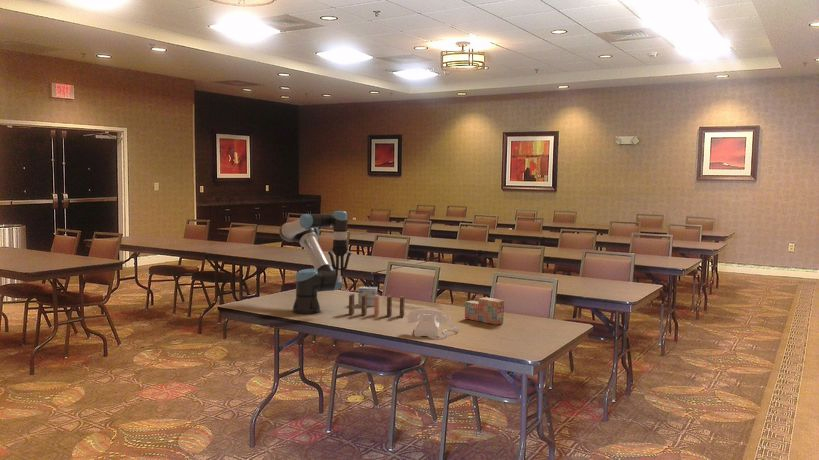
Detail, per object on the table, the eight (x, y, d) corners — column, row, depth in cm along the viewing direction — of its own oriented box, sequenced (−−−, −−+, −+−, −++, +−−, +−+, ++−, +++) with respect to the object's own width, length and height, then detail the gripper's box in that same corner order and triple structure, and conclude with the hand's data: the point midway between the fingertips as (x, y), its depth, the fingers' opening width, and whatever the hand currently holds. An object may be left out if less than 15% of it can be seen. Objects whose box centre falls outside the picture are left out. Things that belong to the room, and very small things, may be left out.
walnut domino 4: (399, 317, 347) (399, 297, 346) (401, 315, 353) (401, 295, 352) (402, 317, 347) (403, 297, 346) (404, 315, 353) (404, 295, 352)
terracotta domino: (374, 316, 349) (374, 296, 348) (375, 314, 354) (376, 294, 354) (377, 316, 348) (377, 296, 348) (379, 314, 354) (379, 294, 354)
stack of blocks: (464, 318, 348) (464, 296, 347) (471, 316, 353) (471, 294, 352) (496, 324, 334) (497, 301, 333) (503, 323, 338) (504, 300, 337)
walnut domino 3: (386, 316, 348) (387, 296, 347) (388, 314, 354) (388, 295, 353) (390, 317, 348) (390, 297, 347) (391, 314, 353) (391, 295, 353)
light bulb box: (377, 304, 383) (377, 286, 382) (375, 306, 376) (376, 288, 376) (359, 303, 384) (360, 286, 383) (357, 306, 377) (358, 287, 377)
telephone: (459, 330, 319) (459, 306, 319) (458, 340, 299) (459, 314, 298) (409, 328, 322) (409, 304, 321) (405, 338, 301) (405, 312, 300)
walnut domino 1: (348, 315, 350) (349, 295, 349) (351, 313, 356) (351, 293, 355) (352, 315, 350) (352, 295, 349) (354, 313, 356) (354, 293, 355)
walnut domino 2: (361, 315, 349) (361, 295, 349) (363, 313, 355) (363, 294, 354) (364, 316, 349) (364, 296, 348) (366, 313, 355) (366, 294, 354)
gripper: (326, 239, 348) (326, 282, 349) (350, 240, 346) (349, 283, 348) (330, 238, 355) (329, 280, 357) (353, 239, 354) (352, 281, 355)
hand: (339, 281), depth 352 cm, fingers closed
